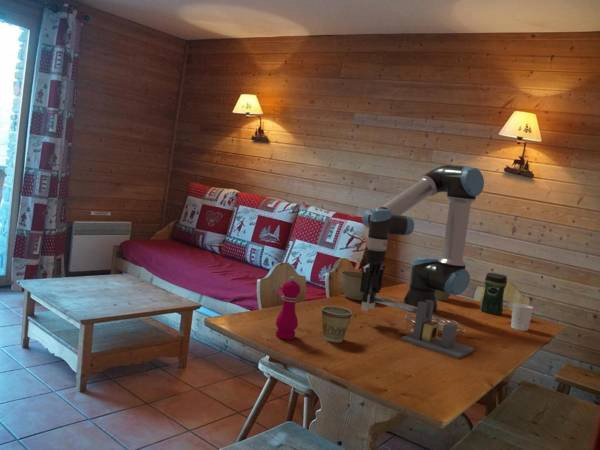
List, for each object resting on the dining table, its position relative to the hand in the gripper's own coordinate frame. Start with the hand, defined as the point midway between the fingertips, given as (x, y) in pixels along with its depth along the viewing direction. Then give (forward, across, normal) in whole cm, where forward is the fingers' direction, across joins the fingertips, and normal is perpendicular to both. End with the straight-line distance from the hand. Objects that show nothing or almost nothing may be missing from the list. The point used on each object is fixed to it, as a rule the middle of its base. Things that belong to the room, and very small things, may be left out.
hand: (367, 309), depth 203 cm
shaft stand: (+5, 0, -29) cm, 30 cm away
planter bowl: (+5, +31, +25) cm, 40 cm away
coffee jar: (+5, +76, -22) cm, 79 cm away
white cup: (+5, +59, -40) cm, 71 cm away
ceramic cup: (+5, -28, -6) cm, 29 cm away
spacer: (+4, 0, -26) cm, 26 cm away
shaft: (-3, 0, -10) cm, 10 cm away
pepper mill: (+5, -42, +5) cm, 43 cm away
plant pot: (+5, +76, +4) cm, 76 cm away
